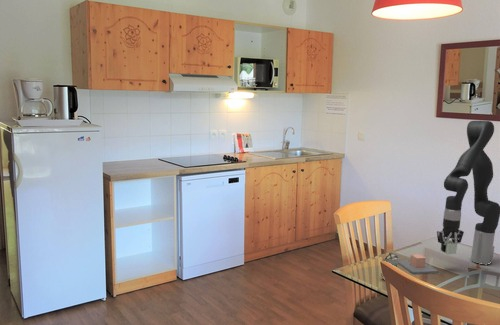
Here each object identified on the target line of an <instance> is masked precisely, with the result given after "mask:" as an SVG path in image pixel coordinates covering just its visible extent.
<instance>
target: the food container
mask: <svg viewBox="0 0 500 325" xmlns="http://www.w3.org/2000/svg"><path fill="white" fill-rule="evenodd" d="M382 261H386V262H389V263H391V264H392V265H394V266H396V267H397V268H398V265H399V264H398V263H399V262H400V261H401V260H400V258H399V255H398V254H397V253H395V252H391V251H389V252H388V255H386V256H385V258H382ZM381 276H382V274H381ZM382 277H383V276H382Z"/></svg>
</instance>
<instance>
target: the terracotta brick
mask: <svg viewBox="0 0 500 325" xmlns="http://www.w3.org/2000/svg"><path fill="white" fill-rule="evenodd" d="M409 257H410V259H409V260H410V265H412V266H413V267H415V268H425V263H426V257H425V256H423V255H422V254H419V253H415V254H410V256H409Z"/></svg>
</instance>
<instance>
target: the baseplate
mask: <svg viewBox="0 0 500 325" xmlns="http://www.w3.org/2000/svg"><path fill="white" fill-rule="evenodd" d="M399 261H400V262H399V263H398V265H399V266H401V267H402V268H403V269H404V270H406V271H407V272H409V273H410V274H412V275H420V274H421V275H422V274H438V273H439V270H438V269H436V268H435V267H433V266H432V265H430V264H428V263H426V262H425V268H415V267H413V266H412V265H410V259H409V260H407V259H406V260H399Z"/></svg>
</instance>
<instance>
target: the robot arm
mask: <svg viewBox="0 0 500 325" xmlns="http://www.w3.org/2000/svg"><path fill="white" fill-rule="evenodd" d="M494 133H495V125H494V123H493V122H492V121H490V120H471V121H469V122H468V124H467V125H466V136H467V140H468V145H469V148H468V149H466V150H465V151H464V152H463V153H462V154H461V155H460V157H459V158H458V161H457V163H456V165H455V166H454V168H453V169H452V170H451V171H450V172H449V174H448V175H447V176H446V177H445V179H444V182H443V187H444V188H443V189H445V190H446V191H449V192H454V193H456V194H455V195H449V196H447V197H446V198H445V207H444V211H443V220H442V226H443V228H442V230H440V231H439V230H437V231H436V236H437V237H436V238H437V242H438V243H439V244H441V245H440V250H442V251H443V252H442V251H441V252H442V253H444V252H446V243H447V241H449V240H450V239H451V241H452V242H454V243H457V244H460V243H461V242H462V239H463V236H464V235H465V234H464V233H465V231H463V230H461V229H460V227H461V218H462V204H463V200H464V198H465V195H466V194H467V191H468V189H469V183H468V180H467V179H465V178H464V177H468V176H469V175H470V174H471V172H472V177H473V178H472V179H473V189H474V192H473V193H474V195H473V196H474V199H473V200H474V201H473V206H474V207H473V208H474V212H475V213H476V214H477V215H478V216H480V217H482V218H483V221H482V222H478V223H476V224H475V228H474V233H473V242H472V248H471V256H470V261H471V260H472V261H474V262H478V263H482V264H488V263H490V262H492V263H493V258H494V253H495V245H494V241H495V237H496V236H495V234H496V230H497V228H498V225H499V222H500V204H499V203H498V202H495V201H492V200H489V197H488V189H489V186H490V185H491V183H492V181H493V178H494V167H493V166H494V165H493V162H492V160H491V159H490V157H489V156H488V154H487V153H486V151H485V150H484V149H485V147H487V145H488V143H490V140H492V137H493V135H494ZM461 177H462V178H461ZM472 261H471V262H472ZM474 262H473V263H474Z"/></svg>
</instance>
